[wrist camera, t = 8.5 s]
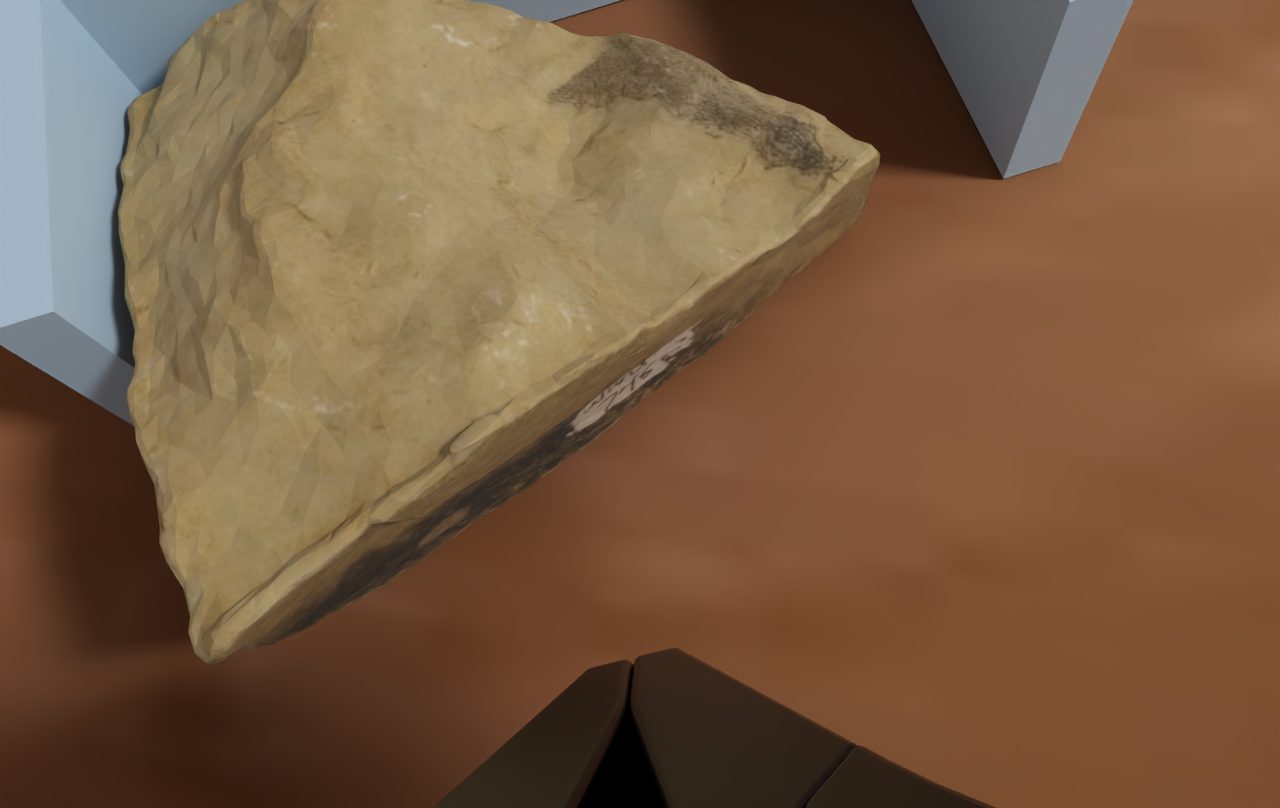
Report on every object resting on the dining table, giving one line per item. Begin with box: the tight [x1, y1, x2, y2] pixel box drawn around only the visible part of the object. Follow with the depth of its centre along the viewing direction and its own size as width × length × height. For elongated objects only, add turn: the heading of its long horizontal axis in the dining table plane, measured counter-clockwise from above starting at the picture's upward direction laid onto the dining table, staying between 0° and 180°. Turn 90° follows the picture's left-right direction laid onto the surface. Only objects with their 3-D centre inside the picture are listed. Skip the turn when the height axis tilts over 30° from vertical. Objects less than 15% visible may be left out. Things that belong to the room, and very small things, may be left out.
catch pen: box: [0, 0, 1133, 426], centre depth 16 cm, size 7×16×4 cm, turn 106°
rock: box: [118, 0, 880, 665], centre depth 14 cm, size 11×9×10 cm
